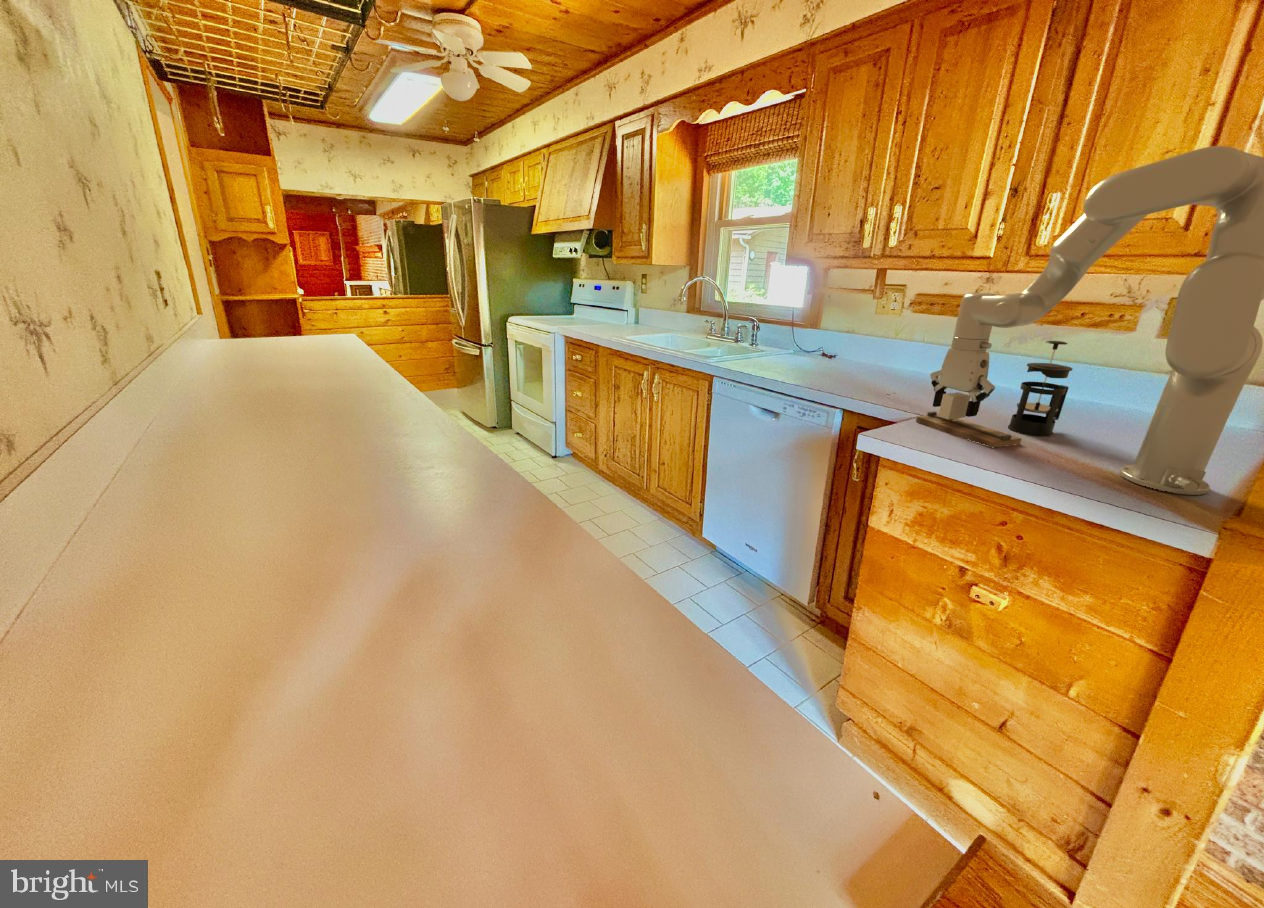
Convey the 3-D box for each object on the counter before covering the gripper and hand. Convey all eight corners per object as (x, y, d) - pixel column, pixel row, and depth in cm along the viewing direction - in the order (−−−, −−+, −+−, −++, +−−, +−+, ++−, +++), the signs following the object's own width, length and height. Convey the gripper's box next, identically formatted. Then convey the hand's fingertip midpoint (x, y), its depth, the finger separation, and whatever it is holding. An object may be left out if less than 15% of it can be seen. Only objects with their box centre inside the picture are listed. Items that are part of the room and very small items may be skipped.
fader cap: (964, 420, 132) (970, 394, 130) (947, 422, 130) (953, 396, 128) (954, 416, 135) (960, 392, 132) (937, 419, 133) (943, 394, 130)
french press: (1026, 437, 126) (1054, 344, 117) (996, 425, 134) (1020, 338, 126) (1068, 435, 127) (1099, 343, 119) (1036, 424, 136) (1062, 337, 127)
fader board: (1019, 444, 121) (1022, 434, 120) (992, 448, 118) (995, 438, 117) (940, 418, 140) (942, 410, 139) (915, 421, 138) (917, 413, 137)
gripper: (1014, 349, 119) (996, 418, 125) (950, 339, 134) (936, 401, 140) (991, 351, 117) (973, 421, 123) (928, 340, 132) (915, 404, 138)
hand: (953, 411), depth 131 cm, fingers open, 9 cm apart
